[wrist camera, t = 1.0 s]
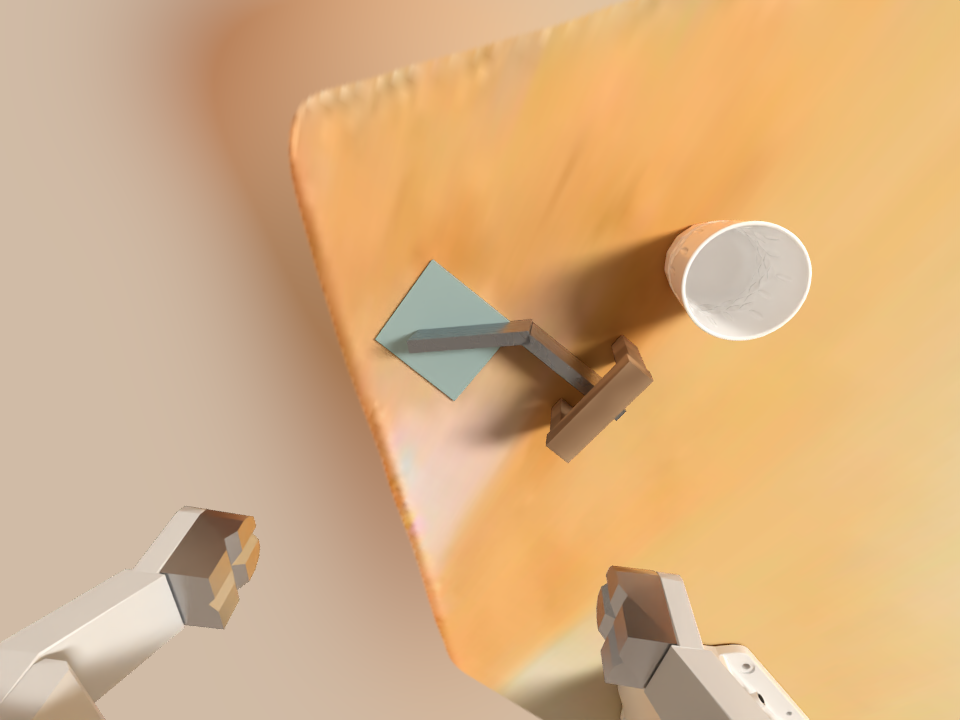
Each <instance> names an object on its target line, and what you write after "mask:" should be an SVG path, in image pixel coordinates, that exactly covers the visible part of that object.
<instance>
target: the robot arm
mask: <svg viewBox="0 0 960 720" xmlns="http://www.w3.org/2000/svg"><path fill="white" fill-rule="evenodd" d="M255 527H256V524H255V520H254V517H253V516H246V515H240V514H234V513H228V512H221V511H215V510H209V509H202V508H196V507H188V506H184V507H183V508H181V509H180V510H179V511H178V512H176V514H175V515H174V516H173V517H172V519H171V520H170V522H169V523H168V524H167V525H166V527H165V528H164V529H163V531H162V532H161V533H160V534H159V536H158V537H157V538H156V540H155V541H154V542H153V544H152V545H151V546H150V547H149V549H148V550H147V551H146V553H145V554H144V555H143V557H142V558H141V559H140V561H139V562H138V563H137V565H136V566H135V567H134V568H133V569H125V570H123V571H121V572H120V573H118V574H116V575H114V576H113V577H111V578H109V579H108V580H106V581H104V582H103V583H101V584H99V585H98V586H96V587H94V588H93V589H91V590H89V591H87V592H86V593H84V594H82V595H80V596H79V597H77V598H75V599H74V600H72V601H70V602H69V603H67V604H65V605H63V606H62V607H60V608H58V609H57V610H55V611H53V612H51V613H50V614H48V615H46V616H45V617H43V618H41V619H39V620H38V621H36V622H34V623H33V624H31V625H29V626H28V627H26V628H24V629H23V630H21V631H19V632H17V633H16V634H14V635H12V636H11V637H9V638H7V639H6V640H4V641H2V642H0V720H105V718H104V717H103V715H102V714H101V712H100V711H99V709H98V708H97V706H96V705H95V702H96V701H97V700H98V699H100V698H101V697H102V696H103V695H104V694H106V693H107V692H108V691H109V690H110V689H112V688H113V687H114V686H115V685H116V684H117V683H119V682H120V681H121V680H122V679H123V678H125V677H126V676H127V675H128V674H130V673H131V672H132V671H133V670H134V669H136V668H137V667H138V666H139V665H140V664H142V663H143V662H144V661H145V660H146V659H147V658H149V657H150V656H151V655H152V654H153V653H155V652H156V651H157V650H158V649H159V648H161V647H162V646H163V645H164V644H165V643H167V641H169V640H170V639H171V638H173V637H174V636H175V635H176V634H177V633H179V632H180V631H181V630H182V629H183V628H184V627H185V626H184V625H189V626H199V627H209V628H216V629H224V628H225V626H226V624H227V622H228V621H229V619H230V617H231V615H232V613H233V611H234V609H235V607H236V605H237V604H238V602H239V596H238V591H237V590H238V589H239V588H241V587H242V586H243V585H245V584H246V583H248V582H249V581H250V579H251V577H252V575H253V573H254V571H255V568H256V565H257V562H258V558H259V551H260V544H259V539H258V538H257V537H256V536H255V535H254V534H253V530H254V529H255ZM606 577H607V584H605V585H604V586H602V587H601V589H600V592H599V595H598V600H597V608H596V609H597V625H598V631H599V632H600V633H601V635H602V636H603V637H604V639H605V642H604V644H603V647H602V649H601V657H602V664H603V671H604V679H605V683H610V684H615V685H618V692H619V696H620V699H621V702H622V706H623V708H622V711H621V716H620V720H810V719H809V718H808V717H807V716H806V715H805V714H804V712H803V711H802V710H801V709H800V708H799V707H798V706H797V704H796V703H795V702H794V701H793V700H792V699H791V697H790V696H789V695H788V694H787V693H786V692H785V691H784V689H783V688H782V687H781V686H780V685H779V684H778V683H777V681H776V680H775V679H774V678H773V677H772V676H771V674H770V673H769V672H768V671H767V670H766V669H765V668H764V666H763V665H762V664H761V663H760V662H759V661H758V660H757V658H756V657H755V656H754V655H753V654H752V653H751V651H750V650H749V649H748V648H746V647H745V646H742V645H723V646H706V645H703V644H702V640H701V637H700V634H699V631H698V627H697V624H696V621H695V618H694V614H693V611H692V608H691V605H690V602H689V598H688V595H687V592H686V589H685V585H684V582H683V579H682V578H681V577H680V575H677V574H671V573H662V572H655V571H653V570H645V569H636V568H628V567H620V566H611V567H610V568H609V569H608V572H607V574H606Z"/></svg>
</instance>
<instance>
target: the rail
mask: <svg viewBox="0 0 960 720" xmlns="http://www.w3.org/2000/svg"><path fill="white" fill-rule="evenodd" d="M407 345H408V350H409V353H421V352H434V351H448V350H461V349H474V348H487V347H501V346H514V345H522V346H524V347H525V348H526V349H527V350H529V351H530V352H531V353H532V354H534V355H535V356H536V357H537V358H539V359H540V360H541V361H542V362H544V363H545V364H546V365H547V366H549V367H550V368H551V369H552V370H554V371H555V372H556V373H557V374H559V375H560V376H561V377H562V378H564V379H565V380H566V381H567V382H569V383H570V384H571V385H572V386H574V387H575V388H576V389H577V390H579V391H580V392H581V393H582V394H584V395H586V394H587V393H588V392H589V391H590V390H591V389H592V388H593V387H594V386H595V385H596V384H597V383H598V382H599V381H600V380H601V379H602V378H601V377H600V376H599V375H598V374H596V373H595V372H594V371H593V370H591V369H590V368H589V367H588V366H586V365H585V364H584V363H583V362H582V361H580V360H579V359H578V358H577V357H575V356H574V355H573V354H572V353H570V352H569V351H568V350H567V349H565V348H564V347H563V346H562V345H560V344H559V343H558V342H557V341H555V340H554V339H553V338H552V337H551V336H549V335H548V334H547V333H546V332H544V331H543V330H542V329H541V328H539V327H538V326H537V325H536V324H534V323H532V319H530V320H518V321H510V322H504V323H492V324H480V325H469V326H457V327H445V328H433V329H422V330H418V331H417V332H416V333H415V334H413V335H412V336H411V337H410V338H409V339H408V340H407ZM625 412H626V409H624V410H623V411H622V412H621V413H620V414H619V415H618V416H617V417H616V418H614V419H615V420H616V421H617V420H618V419H619V418H620V417H621V416H622V415H623V414H624V413H625Z"/></svg>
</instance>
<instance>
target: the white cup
mask: <svg viewBox="0 0 960 720" xmlns="http://www.w3.org/2000/svg"><path fill="white" fill-rule="evenodd" d="M664 271H665V274H666V276H667V279H668V282H669V285H670V287H671V289H672V291H673V293H674V294H675V296H676V298H677V299H678V301H679V303H680V304H681V305H682V307H683V308H684V309H685V311H686V312H687V314H688V315H689V317H690V318H691V319H692V321H693V322H694V323H695V324H696V325H697V326H698V327H699V328H701V329H702V330H703V331H705V332H707V333H708V334H710V335H712V336H715V337H718V338H721V339H726V340H734V341H742V340H750V339H755V338H759V337H762V336H765V335H767V334H769V333H771V332H773V331H775V330H777V329H778V328H780V327H782V326H783V325H784V324H785V323H787V322H788V321H789V320H790V319H791V318H792V317H793V316H794V315H795V314H796V313H797V311H798V310H799V309H800V307H801V306H802V304H803V302H804V301H805V299H806V296H807V294H808V291H809V288H810V284H811V276H812V270H811V262H810V258H809V255H808V253H807V251H806V249H805V247H804V245H803V244H802V243H801V241H800V240H799V239H798V238H797V237H796V236H795V235H794V234H793V233H791V232H790V231H788V230H787V229H785V228H783V227H781V226H779V225H776V224H773V223H769V222H763V221H742V220H719V221H710V222H705V223H699V224H694V225H692V226H691V227H689V228H688V229H687V230H685V231H684V232H682V233H681V234H679V235H678V236H677V237H676V238H675V240H674V241H673V243H672V245H671V246H670V248H669V249H668V251H667V253H666V261H665V268H664Z"/></svg>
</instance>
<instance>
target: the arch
mask: <svg viewBox="0 0 960 720" xmlns="http://www.w3.org/2000/svg"><path fill="white" fill-rule="evenodd" d="M611 347H612V350H613V354H614V358H615V361H616V365H615V366H614V367H613V368H612V369H611V370H610V371H609V372H608V373H607V374H606V375H605V376H604V377H603V378H602V379H601V380H600V381H599V382H598V383H597V384H596V385H595V386H594V387H593V388H592V389H591V390H590V391H589V392H588V393H587V394H586V395H585V396H584V397H583V398H582V399H581V400H580V401H579V402H578V403H577V404H576V405H575V406H574V407H572V406H570V405H569V404H568V403H567V402H565V401H564V400H563V399H562V398H561V399H560V400H559V401H558V402H557V403H556V404H555V405H554V406H553V407H552V412H551V425H550V432H549V433H548V434H547V439H546V446H547V447H548V448H549V449H551V450H552V451H553V452H554V453H556V454H557V455H558V456H560V457H561V458H562V459H563V460H565V461H566V462H567V463H569V462H570V461H571V460H572V459H573V458H574V457H575V456H576V455H577V454H578V453H579V452H580V451H581V450H582V449H583V448H584V447H585V446H587V445H588V444H589V443H590V442H591V441H592V440H593V439H594V438H595V437H596V436H597V435H598V434H599V433H600V432H601V431H602V430H603V429H604V428H605V427H606V426H607V425H608V424H609V423H610V422H611V421H612V420H613V419H614V418H616V417H617V416H618V415H619V414H620V413H621V412H622V411H623V410H624V409H625V408H626V407H627V406H628V405H629V404H630V403H631V402H632V401H633V400H634V399H635V398H636V397H637V396H638V395H639V394H640V393H641V392H642V391H644V390H645V389H646V388H647V387H648V386H649V385H650V384H651V383H652V382H653V379H652V376H651V374H650V372H649V371H648V370H647V369H646V367H645V364H644V362H643V360H642V357H641V355H640V353H639V350H638V348H637V347H636V346H635V345H634V344H633V343H632V342H630V341H629V340H628V339H627V338H625V337H624V336H623V335H621V336H620V337H619V338H618V339H617V341H616V342H615V343H614V344H613V345H612V346H611Z"/></svg>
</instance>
